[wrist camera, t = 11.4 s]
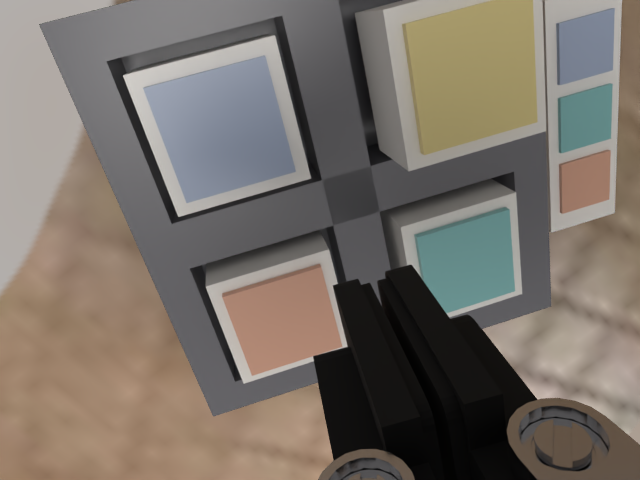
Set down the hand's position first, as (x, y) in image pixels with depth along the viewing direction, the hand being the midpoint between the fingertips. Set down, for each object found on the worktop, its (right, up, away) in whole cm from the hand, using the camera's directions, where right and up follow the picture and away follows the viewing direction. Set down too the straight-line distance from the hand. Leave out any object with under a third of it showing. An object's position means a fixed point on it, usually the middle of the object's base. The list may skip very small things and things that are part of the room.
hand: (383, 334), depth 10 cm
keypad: (-1, +5, +12) cm, 13 cm away
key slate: (-5, +7, +9) cm, 13 cm away
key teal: (+4, +2, +13) cm, 14 cm away
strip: (+11, +8, +13) cm, 19 cm away
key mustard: (+3, +8, +8) cm, 12 cm away
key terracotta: (-3, 0, +13) cm, 13 cm away
